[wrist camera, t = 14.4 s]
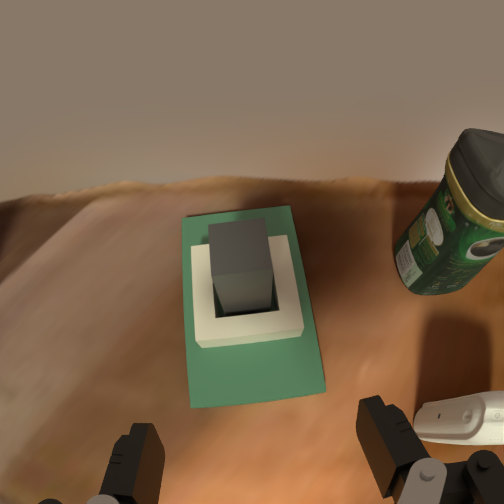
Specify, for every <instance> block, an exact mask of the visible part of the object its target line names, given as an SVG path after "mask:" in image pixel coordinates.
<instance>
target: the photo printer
mask: <svg viewBox="0 0 504 504" xmlns="http://www.w3.org/2000/svg"><path fill="white" fill-rule="evenodd" d="M413 427H414V431H415V432H416V434H417V436H418V437H419V439H422V440H425V441H430V442H438V443H448V444H460V445H501V444H504V391H489V392H481V393H476V394H471V395H467V396H462V397H457V398H452V399H446V400H440V401H434V402H427V403H424V404H423V406H422V408H420V409H419V411H418V412H417V414H416V416H415V418H414V424H413Z"/></svg>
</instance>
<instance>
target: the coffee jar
mask: <svg viewBox="0 0 504 504" xmlns="http://www.w3.org/2000/svg"><path fill="white" fill-rule="evenodd" d="M503 247H504V134H501V133H497V132H492V131H487V130H481V129H474V128H473V129H472V128H469V129H465V130H464V131H463V132H462V133H461V135H460V136H459V139H458V141H457V142H456V144H455V145H454V147H453V148H452V150H451V151H450V153H449V154H448V157H447V160H446V164H445V174H444V177H443V179H442V181H441V183H440V184H439V186H438V188H437V189H436V191H435V192H434V193H433V195H432V196H431V198H430V199H429V201H428V202H427V203H426V205H425V206H424V207H423V209H422V210H421V211H420V213H419V214H418V215H417V216H416V218H415V219H414V220H413V221H412V223H411V224H410V225H409V226H408V228H407V229H406V230H405V232H404V233H403V234H402V236H401V237H400V238H399V240H398V241H397V244H396V247H395V257H396V263H397V268H398V271H399V274H400V277H401V279H402V281H403V283H404V284H405V286H406V287H407V288H408V289H409V290H410V291H412V292H413V293H415V294H419V295H439V294H446V293H451V292H454V291H457V290H459V289H461V288H463V287H464V286H465V285H466V284H467V283H468V282H470V281H471V280H472V279H473V278H474V277H475V276H476V275H477V274H478V273H479V272H480V270H481V269H482V268H483V267H484V266H485V265H486V264H487V263H488V262H489V261H491V260H492V259H493V257H494V256H495V255H496V254H497V253H498V252H499V251H500V250H501V249H502V248H503Z"/></svg>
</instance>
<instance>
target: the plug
mask: <svg viewBox="0 0 504 504" xmlns="http://www.w3.org/2000/svg"><path fill="white" fill-rule="evenodd" d="M208 235H209V251H210V266H211V277H212V280H213V283H214V286H215V288H216V291H217V294H218V297H219V300H220V302H221V305H222V308H223V311H224V313H225V316H226V317H231V316H240V315H248V314H256V313H264V312H270V309H271V294H272V279H273V265H272V259H271V253H270V247H269V241H268V235H267V229H266V224H265V218H258V219H249V220H241V221H232V222H224V223H216V224H208Z"/></svg>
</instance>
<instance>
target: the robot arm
mask: <svg viewBox="0 0 504 504" xmlns="http://www.w3.org/2000/svg"><path fill="white" fill-rule="evenodd" d="M356 432H357V437H358V439H359V442H360V444H361V446H362V449H363V451H364V454H365V456H366V458H367V461H368V463H369V465H370V468H371V470H372V473H373V475H374V477H375V480H376V482H377V485H378V487H379V490H380V492H381V494H382V497H383V499H384V498H387V497H390V496H392V497H393V500H394V504H504V466H503V464H502V463H501V461H500V460H499V458H498V457H497V455H496V454H495V453H493V452H491V451H488V450H480V451H477V452H475V453H473V454H472V455H471V456H470V457H469V459H468V461H463V462H456V463H448V464H447V463H442V462H441V461H440V460H438V459H435V458H431V457H430V455H429V454H428V452H427V451H426V449H425V447H424V446H423V444H422V442H421V441H420V439H419V437H418V436H417V434H416V432H415V431H414V429H412V426H411V424H410V423H409V422H408V419H407V418H406V416H405V414H404V413H403V411H402V410H400V409H399V408H398V407H396V406H395V405H393V404H391V405H387V406H385V404H384V402H383V400H382V399H381V397H380V396H379V395H376V396H372V397H369V398H364V399H361V400H360V401H359V406H358V413H357V420H356ZM164 462H165V451H164V447H163V445H162V442H161V440H160V438H159V436H158V434H157V431H156V429H155V427H154V425H153V424H152V423H133V424H132V427H131V430H130V433H129V435H122V436H121V437H120V438H119V440H118V441H117V442H116V443H115V445H114V448H113V451H112V456H111V457H110V460H109V464H108V467H107V470H106V473H105V476H104V480H103V483H102V486H101V490H100V492H99V494H98V495H97V496H94V497H92V498H91V499H89V500H88V502H87V503H86V504H158V500H159V494H160V487H161V481H162V475H163V468H164ZM39 504H62V503H61V502H59V501H58V500H55V499H45V500H43V501H41V502H40V503H39Z"/></svg>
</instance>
